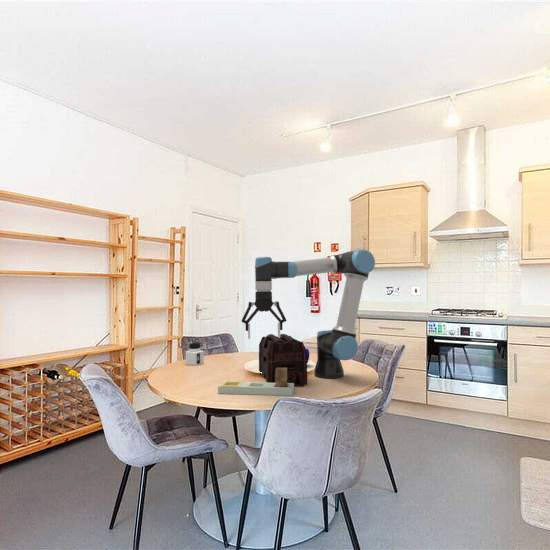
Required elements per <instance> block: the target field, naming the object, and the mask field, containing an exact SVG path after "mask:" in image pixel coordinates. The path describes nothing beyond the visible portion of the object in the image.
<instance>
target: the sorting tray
mask: <svg viewBox="0 0 550 550" xmlns="http://www.w3.org/2000/svg"><path fill="white" fill-rule="evenodd" d="M294 391H295V387H294V383H287V387H276V383H267V382H262V381H261V382H255V381H254V382H253V381H238V380H237V381H236V380H235V381H234V380H225V381H222V382H221V383H220V384H219V385H218V386H217V394H219V395H220V394H227V395H261V396H262V395H263V396H290V397H291V396H293V394H294V393H295V392H294Z"/></svg>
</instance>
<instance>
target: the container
mask: <svg viewBox="0 0 550 550" xmlns="http://www.w3.org/2000/svg"><path fill="white" fill-rule="evenodd" d="M204 362H205V360H204V350H201V343H200V342H198V341H191V342H189V344H188V350H186V351H185V365H188V366H194V365H195V366H199V365H203V364H204Z"/></svg>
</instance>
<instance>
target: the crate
mask: <svg viewBox="0 0 550 550" xmlns="http://www.w3.org/2000/svg"><path fill="white" fill-rule="evenodd" d="M306 349H307V348H306V347H305V344H304V342H303V341H301V340H298V339H295V338H294V337H292V335H288V334H286V333H280V338H278V335H277V336H276V335H275V334H272V333H270V334H268V335H266V336H262V337H261V339H260V342H259V343H258V372H259V371H260V372H262V374H260V375H261V376H262V377H263V379H265V381H266V382H265V383H276V372H275V370H276V368H287V383H294V388H296V387H298V388H299V387H302V388H303V387H305V385H308V363H307V351H306Z"/></svg>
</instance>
